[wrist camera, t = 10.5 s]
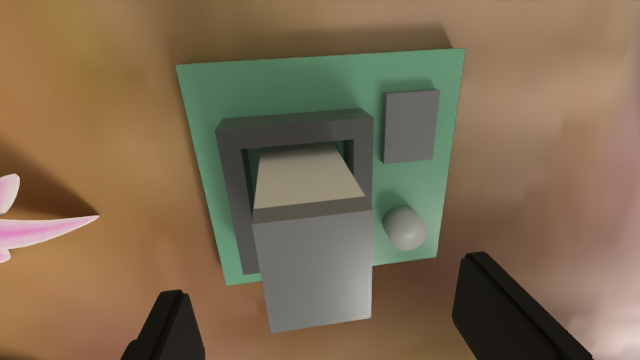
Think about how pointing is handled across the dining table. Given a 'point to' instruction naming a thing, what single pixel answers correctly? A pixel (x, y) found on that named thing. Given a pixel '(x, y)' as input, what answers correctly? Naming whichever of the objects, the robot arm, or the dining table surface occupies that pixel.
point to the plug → (312, 237)
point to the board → (328, 139)
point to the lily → (28, 222)
